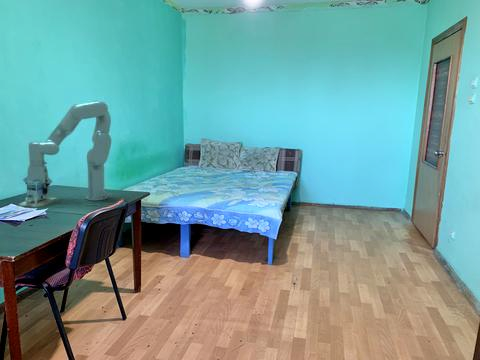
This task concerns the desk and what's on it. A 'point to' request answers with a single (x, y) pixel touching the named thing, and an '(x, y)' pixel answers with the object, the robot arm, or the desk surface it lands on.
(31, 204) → the locator board
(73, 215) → the desk surface
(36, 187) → the light bulb box
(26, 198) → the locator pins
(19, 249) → the desk surface
